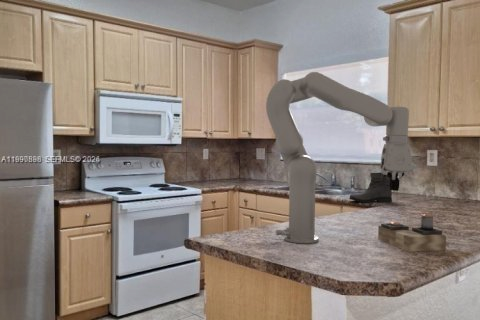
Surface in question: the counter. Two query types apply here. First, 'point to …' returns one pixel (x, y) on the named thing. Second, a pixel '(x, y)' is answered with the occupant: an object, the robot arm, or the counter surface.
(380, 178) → the boot
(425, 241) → the maple block
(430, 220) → the peg
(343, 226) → the counter surface
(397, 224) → the peg
